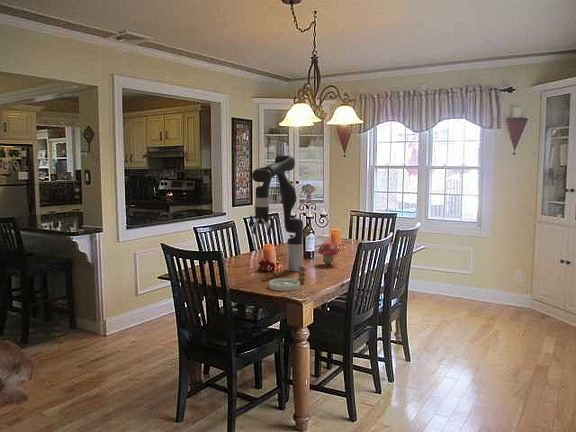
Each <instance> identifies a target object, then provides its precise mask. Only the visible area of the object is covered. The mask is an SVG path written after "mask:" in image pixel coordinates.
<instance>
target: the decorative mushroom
mask: <svg viewBox="0 0 576 432" xmlns="http://www.w3.org/2000/svg"><path fill="white" fill-rule="evenodd" d="M318 254H319V255H320V256H321V255H322V256H323V257H322V258H323V259H322V262H323V263H324V264H326V265H331V264H333V262H334V256H337V255H338V254H339V249H338V247H337V245H335V243H333V242H329V241H328V242H324V243H322V244H321V245H320V247H319V248H318Z"/></svg>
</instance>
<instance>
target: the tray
mask: <svg viewBox="0 0 576 432" xmlns="http://www.w3.org/2000/svg"><path fill="white" fill-rule="evenodd" d="M268 281H269V282H268V284H269V285H268V287H269V288H268V289H271V290H274V291H280V292H289V291H290V292H291V291H296V290H298V289H301V284H300V281H298V279H295V278H273V279H270V280H268Z"/></svg>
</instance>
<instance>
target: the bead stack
mask: <svg viewBox="0 0 576 432" xmlns="http://www.w3.org/2000/svg"><path fill="white" fill-rule="evenodd" d="M298 270H299V271H298V279H297V280H298V281H300V285H304V284H305V281H306V279H305V276H306V273H305V271H306V268H305V265H302V266H299V269H298Z"/></svg>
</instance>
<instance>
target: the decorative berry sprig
mask: <svg viewBox="0 0 576 432" xmlns="http://www.w3.org/2000/svg"><path fill="white" fill-rule="evenodd" d="M258 265H259V266H260V267H261V269H263V268H264V269H265V268H266V270H267V271H266V272H268V273H271V274H272V275H273V276H272V277H269V278H266V279H262V282H267V281H271V280H274V279H277V278H279V277H285V276H289V275H291V273H288V274H287V273H286V274H281V275H277V274H275V272H272V271H273V270H275V269H276V267H277V266H276V265H275V263H274V262H273V261H270V259H266V260H264V259H261V260H259V261H258ZM269 265H270V267H271V266H272V269H273V270H268V269H271V268H270V267H269ZM267 267H269V268H268V269H267Z"/></svg>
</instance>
